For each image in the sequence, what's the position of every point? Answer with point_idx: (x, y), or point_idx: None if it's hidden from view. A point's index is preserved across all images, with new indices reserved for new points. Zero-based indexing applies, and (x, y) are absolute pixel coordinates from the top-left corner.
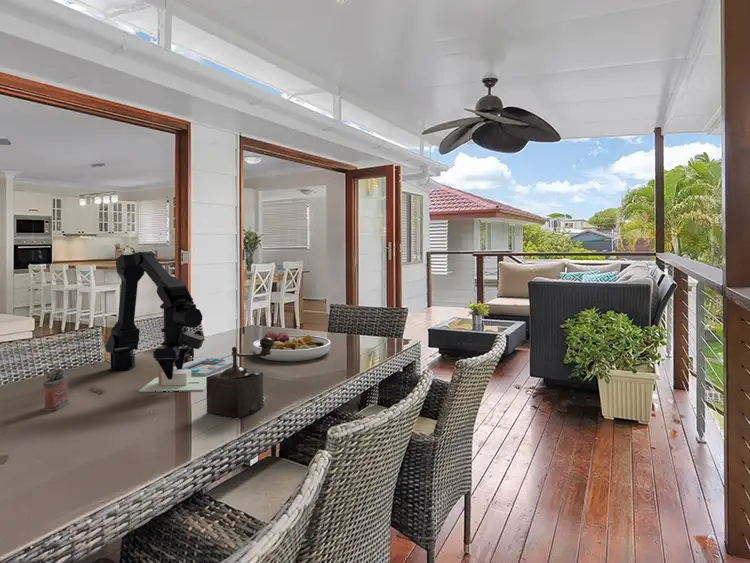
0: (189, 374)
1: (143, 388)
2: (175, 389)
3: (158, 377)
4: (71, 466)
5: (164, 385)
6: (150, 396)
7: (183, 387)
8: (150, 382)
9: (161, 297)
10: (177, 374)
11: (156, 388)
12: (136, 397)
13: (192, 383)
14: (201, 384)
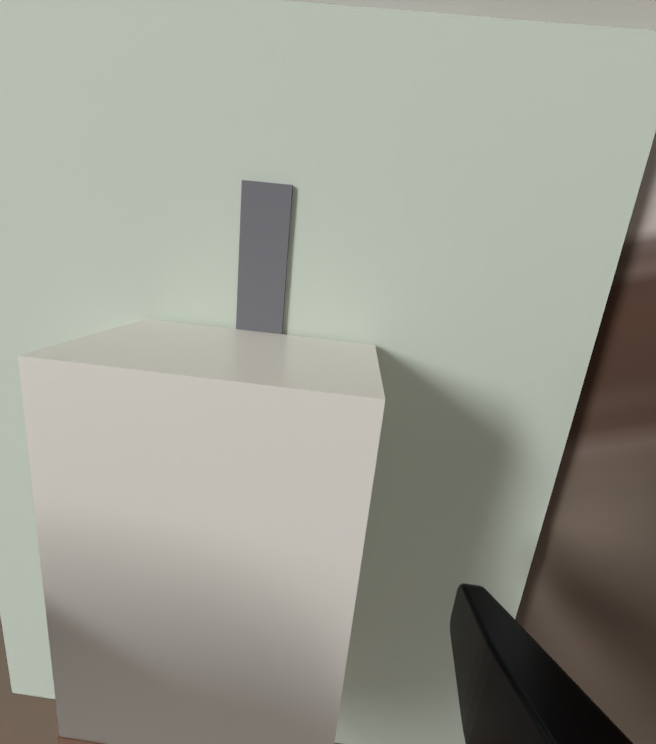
0: (186, 353)
1: (405, 740)
2: (542, 451)
3: (12, 675)
4: None
5: None
6: (652, 644)
7: (474, 368)
8: None
9: None
10: (361, 552)
11: (437, 642)
12: (637, 740)
13: (290, 278)
14: (365, 125)
